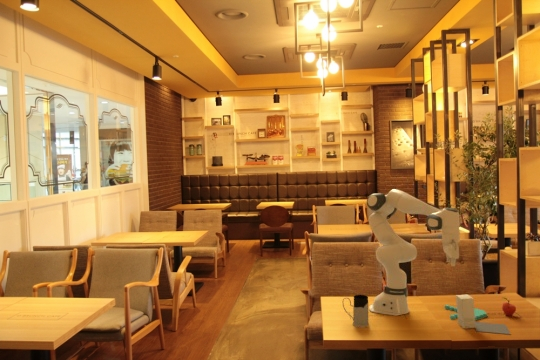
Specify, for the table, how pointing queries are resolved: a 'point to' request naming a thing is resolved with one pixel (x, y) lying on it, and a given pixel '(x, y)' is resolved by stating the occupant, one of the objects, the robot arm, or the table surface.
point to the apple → (508, 308)
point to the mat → (491, 328)
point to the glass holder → (360, 311)
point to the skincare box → (465, 311)
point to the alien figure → (478, 312)
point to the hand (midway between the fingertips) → (451, 264)
